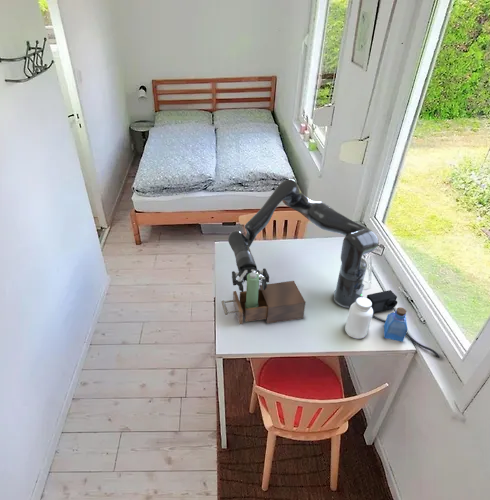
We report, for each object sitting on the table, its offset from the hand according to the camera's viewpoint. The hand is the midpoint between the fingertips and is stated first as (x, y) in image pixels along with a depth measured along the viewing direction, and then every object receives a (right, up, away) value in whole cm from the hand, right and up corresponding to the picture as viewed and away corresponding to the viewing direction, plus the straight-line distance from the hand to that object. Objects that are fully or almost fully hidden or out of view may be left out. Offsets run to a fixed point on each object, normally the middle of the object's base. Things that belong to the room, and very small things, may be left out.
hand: (253, 289), depth 143 cm
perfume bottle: (+52, -17, -2) cm, 54 cm away
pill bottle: (+38, -16, 0) cm, 42 cm away
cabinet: (+12, -9, +11) cm, 19 cm away
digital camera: (+51, -9, +9) cm, 53 cm away
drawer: (-2, -10, +9) cm, 14 cm away
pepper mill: (0, -9, +8) cm, 12 cm away
